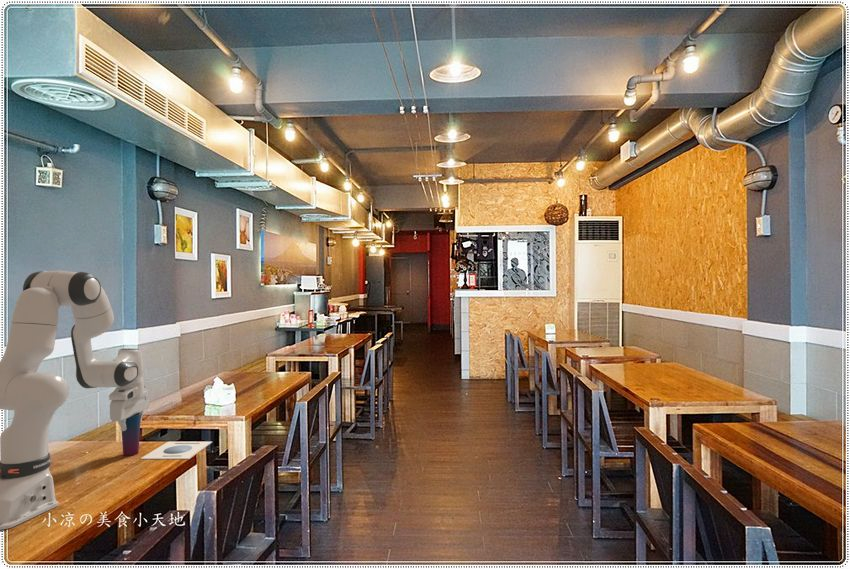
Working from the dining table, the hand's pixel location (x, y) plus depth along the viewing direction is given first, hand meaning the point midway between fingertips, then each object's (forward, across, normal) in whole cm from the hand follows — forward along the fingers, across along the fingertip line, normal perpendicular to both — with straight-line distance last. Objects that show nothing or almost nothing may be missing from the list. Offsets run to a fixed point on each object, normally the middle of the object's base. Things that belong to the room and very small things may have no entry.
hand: (131, 426), depth 196 cm
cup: (+10, 0, 0) cm, 10 cm away
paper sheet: (+10, -4, +16) cm, 19 cm away
